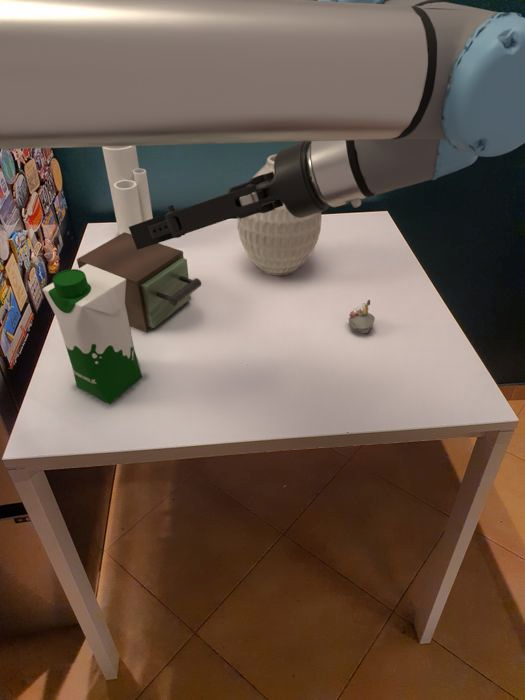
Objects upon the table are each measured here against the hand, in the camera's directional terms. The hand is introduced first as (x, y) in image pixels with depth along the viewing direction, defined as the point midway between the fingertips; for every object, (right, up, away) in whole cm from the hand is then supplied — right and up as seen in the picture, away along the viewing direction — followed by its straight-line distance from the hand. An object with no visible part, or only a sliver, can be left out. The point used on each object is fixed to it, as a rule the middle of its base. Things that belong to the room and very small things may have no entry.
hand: (167, 226), depth 65 cm
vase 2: (+15, +1, +41) cm, 44 cm away
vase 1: (-16, +9, +51) cm, 54 cm away
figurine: (+29, -12, +25) cm, 40 cm away
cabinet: (-11, -7, +31) cm, 33 cm away
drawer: (-7, -8, +29) cm, 31 cm away
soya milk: (-11, -21, +15) cm, 28 cm away
